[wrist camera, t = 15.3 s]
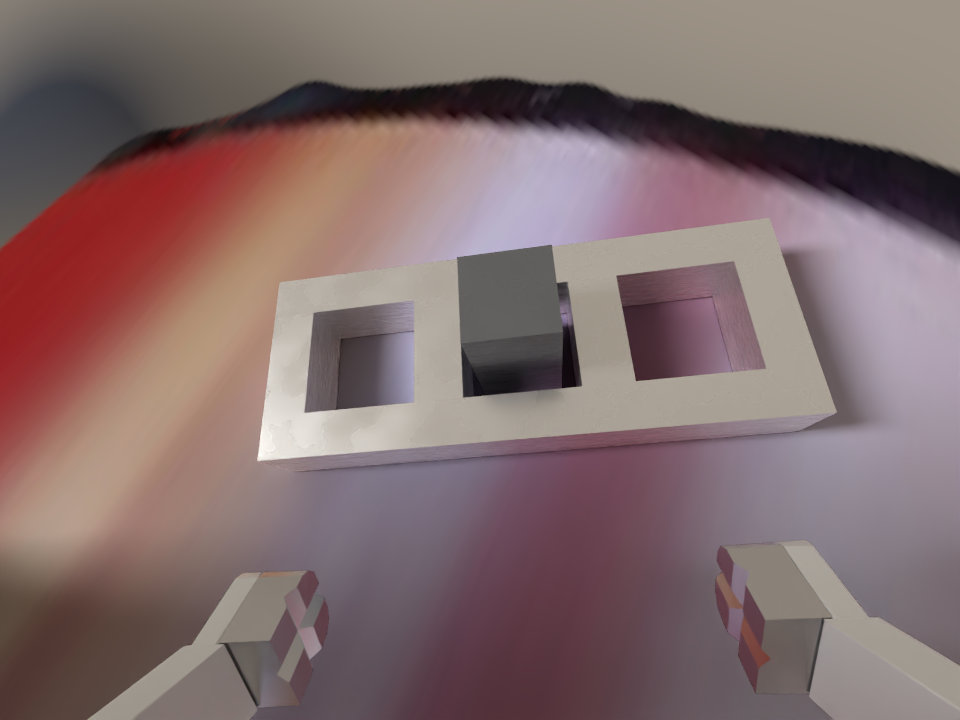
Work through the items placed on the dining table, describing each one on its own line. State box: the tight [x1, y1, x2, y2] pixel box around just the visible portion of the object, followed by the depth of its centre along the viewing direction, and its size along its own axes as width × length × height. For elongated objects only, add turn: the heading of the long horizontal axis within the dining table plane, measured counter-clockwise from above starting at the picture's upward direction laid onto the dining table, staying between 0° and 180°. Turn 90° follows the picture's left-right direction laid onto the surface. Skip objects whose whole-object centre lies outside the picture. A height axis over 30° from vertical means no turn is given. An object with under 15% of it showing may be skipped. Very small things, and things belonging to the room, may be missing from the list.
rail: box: [257, 218, 837, 472], centre depth 25 cm, size 26×10×4 cm, turn 93°
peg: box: [457, 245, 563, 396], centre depth 23 cm, size 4×4×8 cm
